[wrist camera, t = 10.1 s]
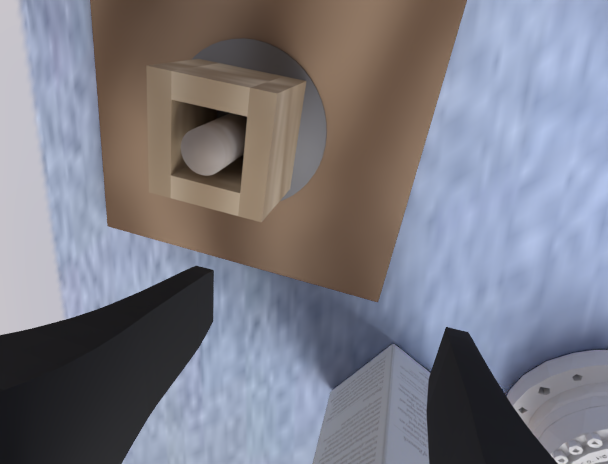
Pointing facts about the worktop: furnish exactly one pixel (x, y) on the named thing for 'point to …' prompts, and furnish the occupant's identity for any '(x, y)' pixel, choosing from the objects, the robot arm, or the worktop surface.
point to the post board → (312, 132)
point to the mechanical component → (567, 406)
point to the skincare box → (378, 414)
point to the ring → (203, 108)
